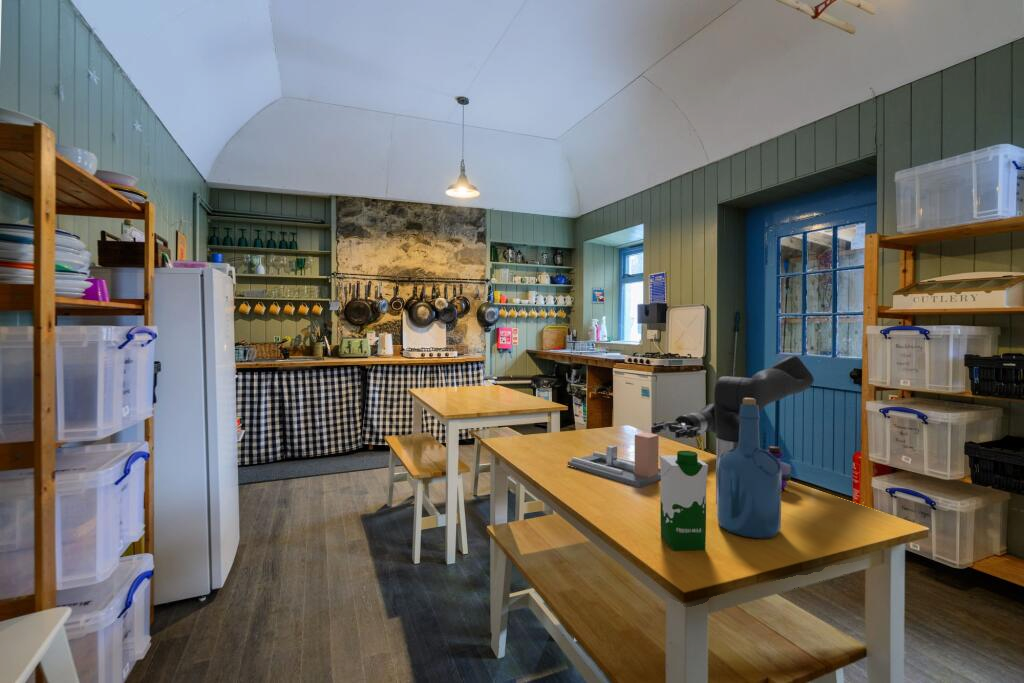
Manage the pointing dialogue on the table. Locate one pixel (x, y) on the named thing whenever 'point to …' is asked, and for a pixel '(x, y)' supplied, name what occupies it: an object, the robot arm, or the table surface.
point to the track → (611, 470)
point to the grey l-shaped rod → (612, 459)
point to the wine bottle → (749, 482)
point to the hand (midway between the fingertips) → (664, 432)
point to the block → (646, 454)
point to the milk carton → (683, 501)
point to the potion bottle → (784, 467)
